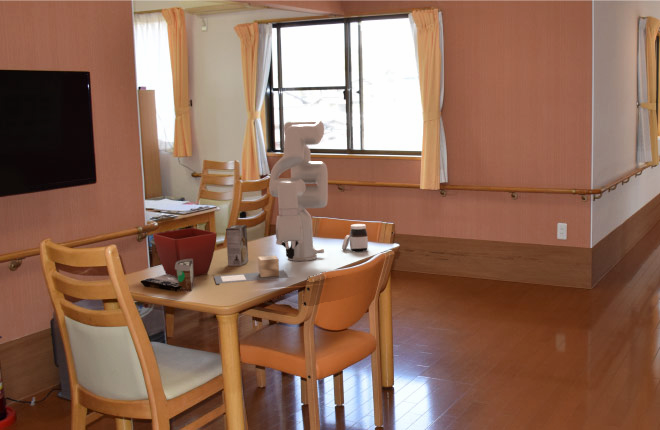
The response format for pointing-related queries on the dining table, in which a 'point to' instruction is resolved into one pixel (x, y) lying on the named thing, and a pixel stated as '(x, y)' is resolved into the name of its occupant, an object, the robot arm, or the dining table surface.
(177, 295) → the dining table surface
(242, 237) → the coffee box
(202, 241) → the plant pot
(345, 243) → the spread jar
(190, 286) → the food container
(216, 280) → the topple mat
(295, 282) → the dining table surface
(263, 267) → the oak cube
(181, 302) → the dining table surface
